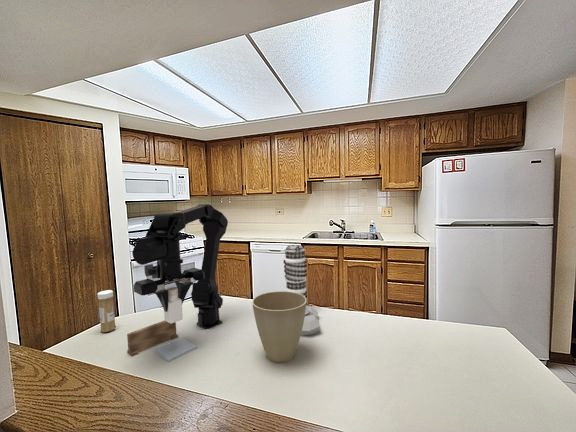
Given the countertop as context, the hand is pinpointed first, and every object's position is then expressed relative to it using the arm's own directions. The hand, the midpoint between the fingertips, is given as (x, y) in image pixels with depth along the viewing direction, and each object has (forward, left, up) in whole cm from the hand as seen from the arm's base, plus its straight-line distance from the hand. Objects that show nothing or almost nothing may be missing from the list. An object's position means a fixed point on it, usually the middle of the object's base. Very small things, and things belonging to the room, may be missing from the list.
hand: (173, 309), depth 83 cm
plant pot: (-16, +27, -13) cm, 34 cm away
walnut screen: (+3, -8, -12) cm, 15 cm away
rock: (-33, +19, -13) cm, 40 cm away
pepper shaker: (0, 0, -4) cm, 4 cm away
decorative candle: (-45, +10, -13) cm, 48 cm away
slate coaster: (0, 0, -12) cm, 12 cm away
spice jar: (+8, -32, -13) cm, 35 cm away
